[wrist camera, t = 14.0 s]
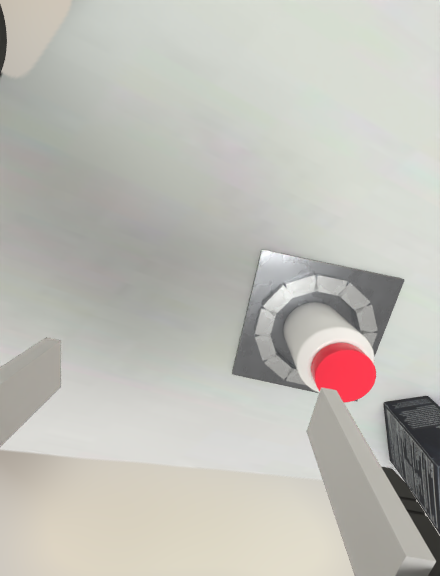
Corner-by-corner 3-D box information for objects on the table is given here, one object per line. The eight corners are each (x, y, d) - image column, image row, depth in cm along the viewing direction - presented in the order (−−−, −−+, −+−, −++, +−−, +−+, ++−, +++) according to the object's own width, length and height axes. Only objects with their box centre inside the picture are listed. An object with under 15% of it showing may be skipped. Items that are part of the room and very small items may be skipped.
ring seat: (261, 249, 33) (263, 250, 31) (401, 278, 33) (410, 281, 31) (232, 371, 38) (232, 379, 36) (355, 398, 37) (360, 407, 36)
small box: (434, 454, 39) (504, 537, 29) (389, 460, 40) (441, 542, 29) (430, 394, 37) (504, 460, 26) (382, 401, 37) (435, 468, 27)
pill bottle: (294, 363, 36) (318, 422, 25) (274, 314, 35) (290, 355, 24) (350, 344, 35) (399, 398, 24) (331, 293, 33) (375, 325, 23)
